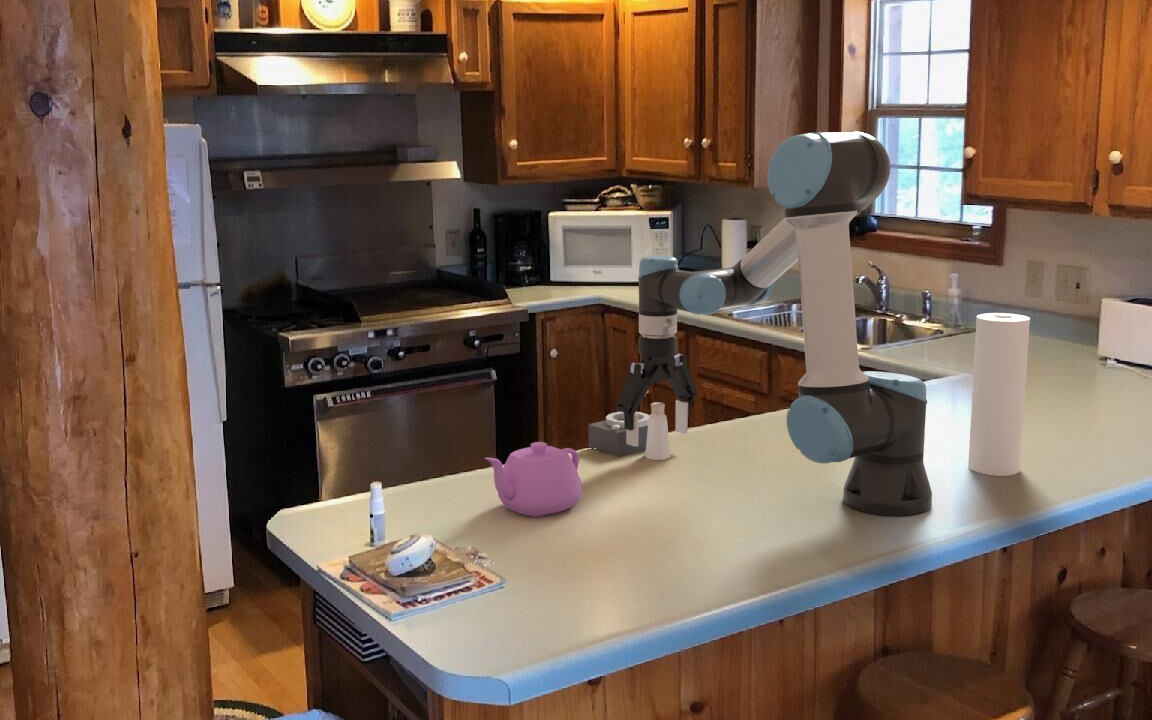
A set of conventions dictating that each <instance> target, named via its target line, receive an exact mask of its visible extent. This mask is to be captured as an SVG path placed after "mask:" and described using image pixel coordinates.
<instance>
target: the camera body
mask: <svg viewBox="0 0 1152 720" xmlns="http://www.w3.org/2000/svg"><path fill="white" fill-rule="evenodd" d="M635 413H637V414H639V446H637V447H635V446H632V445H628V444H626V429H625V427H624V413H623V412H620V411H617V412H612V413H609V414H607V415H606V416H605V420H602V421H598V422H597V421H596V422H593V423H588V425H587V429H588V433H587V434H588V448H589V449H592V450H595V451H598V452H601V453H604V454H607V455H611V456H614V457H617V458H618V457H619V458H620V457H623V456H626V455H627V456H628V455H631V454H634V453H635V454H636V453H637V452H641V451H646V441H647V431H648V421H649V415H650V414H647V413H644V412H641V411H636V412H635ZM668 422H669V421H668V420H667V426H668ZM668 427H669V426H668ZM594 448H596V449H594Z"/></svg>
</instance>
